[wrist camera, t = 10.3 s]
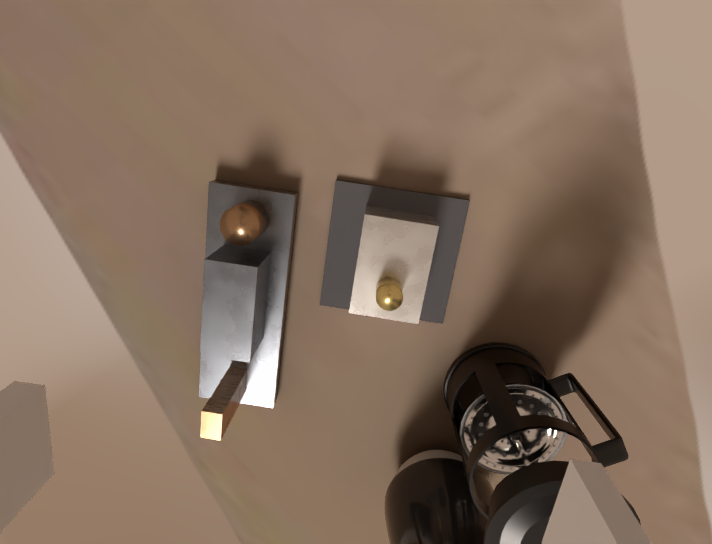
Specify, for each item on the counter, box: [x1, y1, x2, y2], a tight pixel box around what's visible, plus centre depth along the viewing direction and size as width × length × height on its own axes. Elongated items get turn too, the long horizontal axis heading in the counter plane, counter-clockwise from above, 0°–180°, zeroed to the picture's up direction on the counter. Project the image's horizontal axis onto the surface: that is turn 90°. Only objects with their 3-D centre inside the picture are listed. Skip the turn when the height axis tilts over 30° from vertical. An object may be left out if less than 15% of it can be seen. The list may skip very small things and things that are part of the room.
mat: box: [320, 180, 469, 324], centre depth 39 cm, size 11×11×1 cm
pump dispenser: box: [385, 450, 494, 544], centre depth 39 cm, size 10×10×15 cm
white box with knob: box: [349, 206, 439, 324], centre depth 36 cm, size 8×6×6 cm
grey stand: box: [199, 180, 298, 441], centre depth 37 cm, size 20×7×8 cm, turn 172°
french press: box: [444, 343, 641, 544], centre depth 32 cm, size 12×9×23 cm
